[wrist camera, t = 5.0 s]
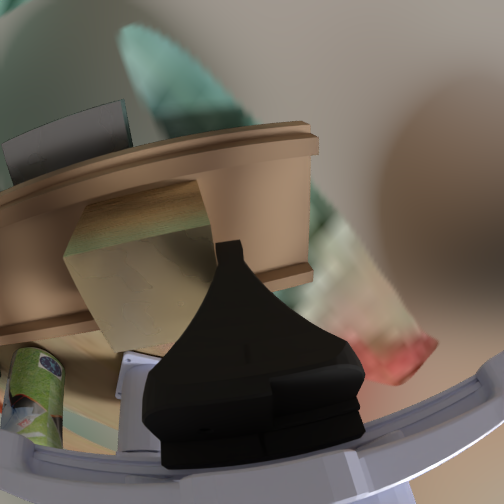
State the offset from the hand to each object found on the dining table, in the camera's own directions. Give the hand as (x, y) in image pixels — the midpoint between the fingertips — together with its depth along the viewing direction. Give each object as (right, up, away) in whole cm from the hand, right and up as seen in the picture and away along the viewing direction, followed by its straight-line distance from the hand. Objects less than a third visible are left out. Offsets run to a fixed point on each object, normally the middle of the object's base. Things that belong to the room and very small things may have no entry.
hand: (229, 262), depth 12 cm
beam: (-9, +1, +3) cm, 9 cm away
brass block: (-4, +1, +2) cm, 4 cm away
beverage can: (-20, -10, +12) cm, 25 cm away
